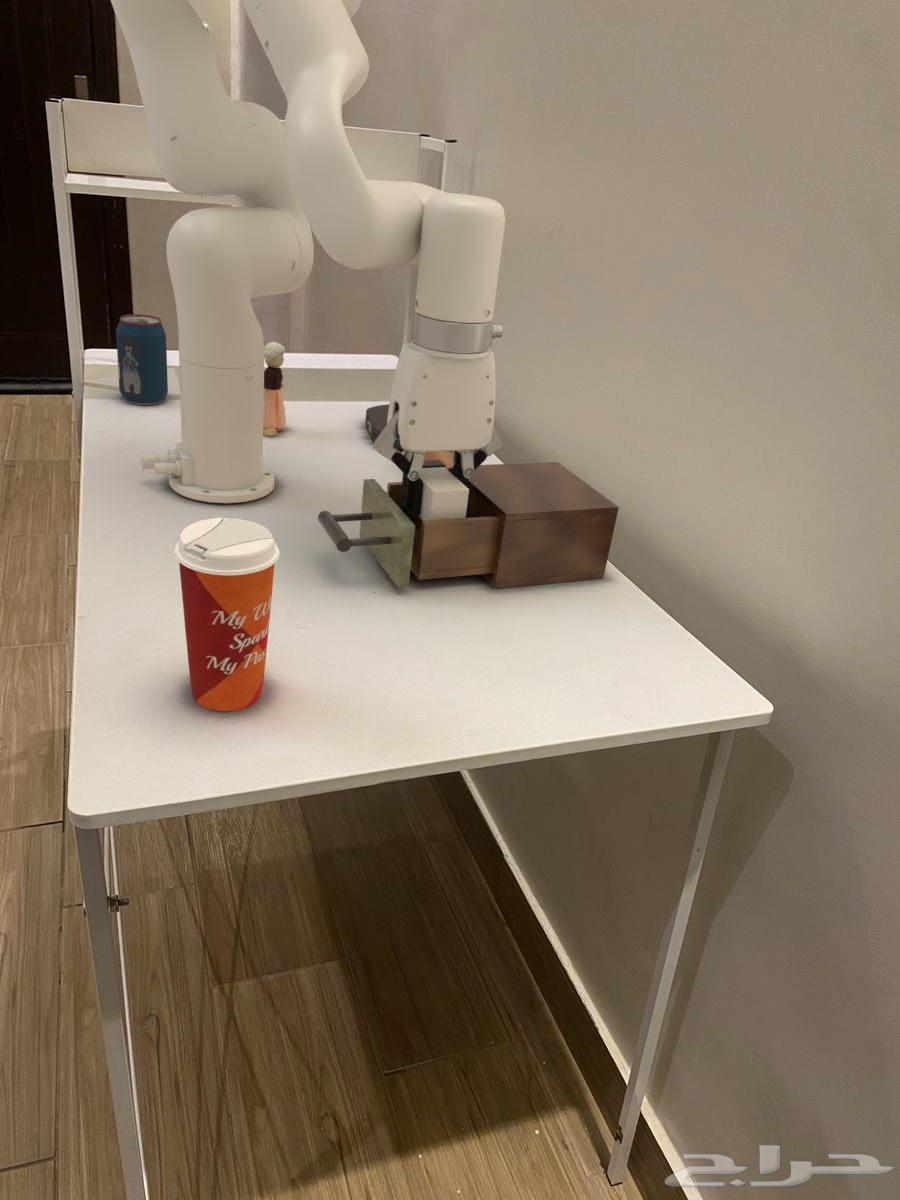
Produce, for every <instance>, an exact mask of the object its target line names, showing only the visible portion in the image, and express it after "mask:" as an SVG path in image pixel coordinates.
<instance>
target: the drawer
mask: <svg viewBox="0 0 900 1200" xmlns="http://www.w3.org/2000/svg"><path fill="white" fill-rule="evenodd" d="M467 488H468V489H469V494H468V502H467V510H466V518H458V519H442V520H426V521H423V520H422V519H421V518H420V517H413V516H412V515H411V514H410V513H409V512H408V510H407V509H406V508H405V507H404V505H403V504H402V502H401V490H402V481H394V482H391V481H390V482H387V488H386V491H385V490H384V488H383V487H382V486H381V485H380V484H379V483H378V481H377V480H376V479H375V478H364V479H363V484H362V500H361V509H360V510H361V512H360V513H359V512H358V513H343V514H342V513H341V514H332V513H331V512H330V511H328V510H322V511H320V512H319V513H318V515H317V521H318V523H319V524H320V525H321V527H322V529H323V530H324V531H325V533H326V534H327V536H328V538H329V539H330V540H331V542H332V543H333V545H334V546H335V548H336V549H337V550H338V551H339V552H340V553H346V552H348V551H349V550H350V549H351V548H353V547H365V546H366V547H367V548H368V550H369V551H370V553H371V554H372V555H373V556H374V557H375V559H376V560H377V562H378V563H379V564H380V566H381V567H382V568H383V570H384V571H385V572H386V574H387V576H388V577H389V578H390V579H391V580H392V582H393V583H394V584H395V586H396V587H397V588H398V589H399V588H408V587H409V586H410V580H411V579H410V577H411V572H412V573H413V574H414V576H415V577H416V578H417V580H418V581H419V580H430V579H431V580H432V579H442V578H453V577H454V578H455V577H464V576H465V577H466V576H475V575H481V574H488V573H493V572H494V565H495V559H496V552H497V546H498V540H499V533H500V527H501V520H502V518H501V517H500V516H499V515H498V514H497V513H496V512H495V511H494V510H493V509H492V508H490V507H489V506H488V505H487V504H486V503H485V502H484V501H483V500H482V499H481V498H480V497H479V496H477V495H476V494H475V493H474V492H473V491H472V490H471V489H470V488H469V487H468V486H467ZM357 521H360V525H359V538H349V536H347V533H345V531H344V530H343V529H342V527H341V525H340V524H339V523H341V522H357Z"/></svg>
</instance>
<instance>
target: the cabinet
mask: <svg viewBox="0 0 900 1200" xmlns="http://www.w3.org/2000/svg"><path fill="white" fill-rule="evenodd" d="M468 487H469V488H470V489H471V490H472V491H473V492H474V493H475V494H476V495H477V496H479V497H480V498H481V499H482V500H483V501H484V502H485V503H486V504H487V505H488V506H489V507H490V508H492V509H493V510H494V511H495V512H496V513H497V514H498V515H499V516H500V517H501V518H502V520H501V527H500V533H499V540H498V546H497V552H496V559H495V565H494V572H493V573H488V574H480V575H481V577H483V578H484V579H485V581H487V583H488V584H489V585H490V586H491V587H492V588H493V589H494V590H495V589H496V590H497V589H498V590H499V589H508V588H518V587H527V586H537V585H548V584H558V583H568V582H577V581H579V582H580V581H588V580H590V581H591V580H599V579H604V577H605V572H606V569H607V568H606V567H607V565H608V564H607V563H608V559H609V555H610V554H609V553H610V551H611V546H612V540H613V536H614V532H615V528H616V523H617V519H618V513H619V509H620V507H619V506H618V505H616V504H615V503H614V502H613V501H611V500H610V499H608V497H605V495H603V494H602V493H601V492H599V491H598V490H596V489H595V488H594V487H592V486H591V485H589V484H588V483H586V481H584V480H582V479H581V478H580V477H579V476H577V475H576V474H575V473H573V472H572V471H570V470H569V469H567V468H566V467H565V466H564V465H562V464H560V462H558V461H549V462H525V463H523V462H521V463H498V464H497V463H496V464H481V465H480V466H479V467H477V468H476V469H475V470H474V475H473V476H472V477H471V478H468Z"/></svg>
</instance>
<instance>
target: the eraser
mask: <svg viewBox="0 0 900 1200" xmlns="http://www.w3.org/2000/svg"><path fill="white" fill-rule="evenodd" d="M445 467H446V465H445V464H444V463H443V462H442V461H440V460H430V461H424V462H423V466H422V469H421V473H420V479H421V480H422V481H423V492H422V502H421V511H420V515H419V517H420V518H421V519H422V520H423V521H426V520H442V519H458V518H466V510H467V502H468V494H469V489H468V488H467V487H466V486H465V485H464V484H463V483H461V482H460V481H459V480H458V479H457V478H456V477H455V476H454V475H453V474H452V473H451V472H449V471H448V470H447V469H446V468H445ZM401 482H403V478H402V481H401ZM401 493H402V490H401Z"/></svg>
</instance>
